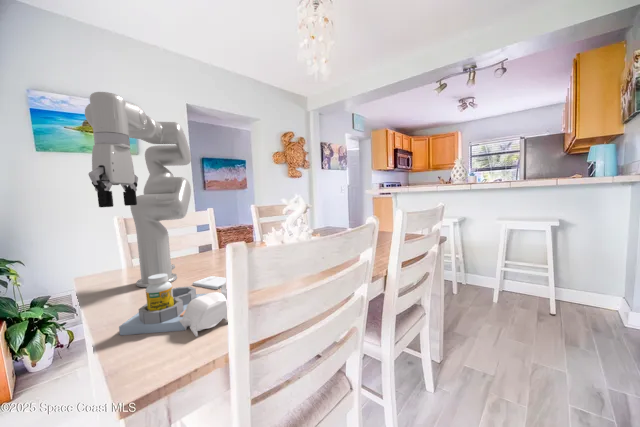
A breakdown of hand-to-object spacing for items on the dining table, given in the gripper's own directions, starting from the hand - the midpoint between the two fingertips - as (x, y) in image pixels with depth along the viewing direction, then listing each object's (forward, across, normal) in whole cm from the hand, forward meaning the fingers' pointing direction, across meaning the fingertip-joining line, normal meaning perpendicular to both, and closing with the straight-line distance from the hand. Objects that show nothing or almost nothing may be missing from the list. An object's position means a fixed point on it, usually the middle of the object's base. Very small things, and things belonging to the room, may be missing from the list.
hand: (119, 206), depth 72 cm
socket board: (+28, +8, +15) cm, 33 cm away
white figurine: (+29, +13, +28) cm, 42 cm away
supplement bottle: (+26, +12, +15) cm, 33 cm away
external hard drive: (+29, -16, +18) cm, 38 cm away
